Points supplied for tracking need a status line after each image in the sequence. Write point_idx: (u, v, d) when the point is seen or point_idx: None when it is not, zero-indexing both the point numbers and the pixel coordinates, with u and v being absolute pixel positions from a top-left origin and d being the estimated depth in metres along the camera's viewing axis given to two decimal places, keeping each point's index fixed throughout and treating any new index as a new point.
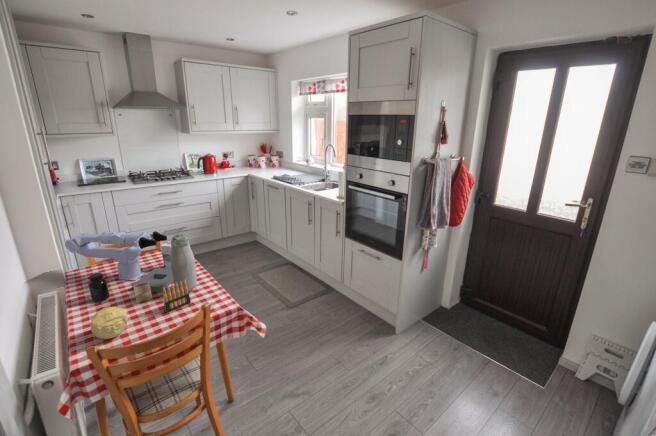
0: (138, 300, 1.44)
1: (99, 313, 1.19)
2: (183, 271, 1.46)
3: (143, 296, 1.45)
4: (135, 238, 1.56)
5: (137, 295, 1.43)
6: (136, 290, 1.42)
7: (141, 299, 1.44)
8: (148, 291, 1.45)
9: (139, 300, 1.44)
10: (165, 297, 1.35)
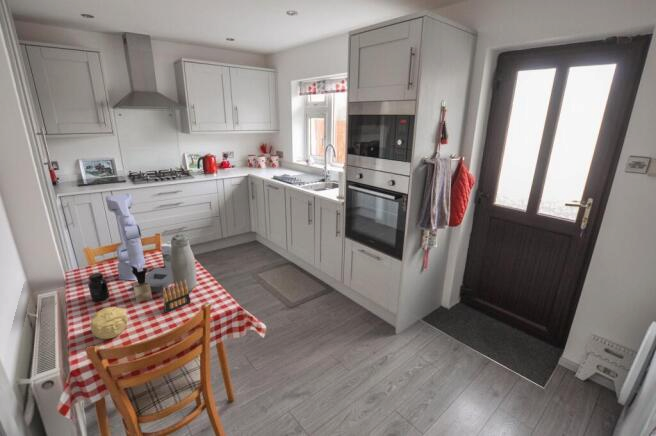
0: (138, 300, 1.44)
1: (99, 313, 1.19)
2: (183, 271, 1.46)
3: (143, 296, 1.45)
4: (140, 256, 1.39)
5: (137, 295, 1.43)
6: (136, 290, 1.42)
7: (141, 299, 1.44)
8: (148, 291, 1.45)
9: (139, 300, 1.44)
10: (165, 297, 1.35)
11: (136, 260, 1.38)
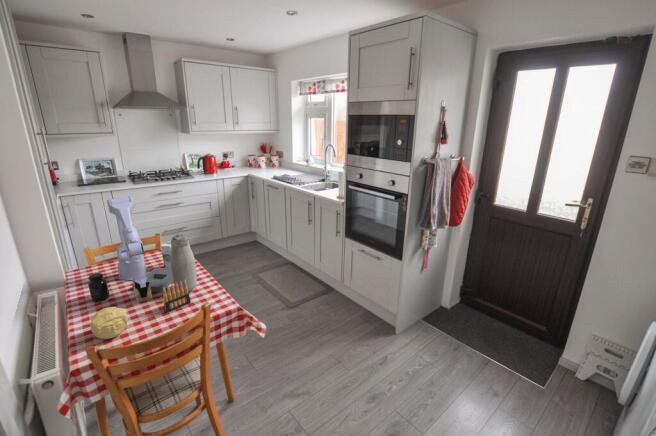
0: (138, 300, 1.44)
1: (99, 313, 1.19)
2: (183, 271, 1.46)
3: None
4: (143, 272, 1.41)
5: (137, 295, 1.43)
6: (136, 290, 1.42)
7: (141, 299, 1.44)
8: (148, 291, 1.45)
9: (139, 300, 1.44)
10: (165, 297, 1.35)
11: (139, 276, 1.41)
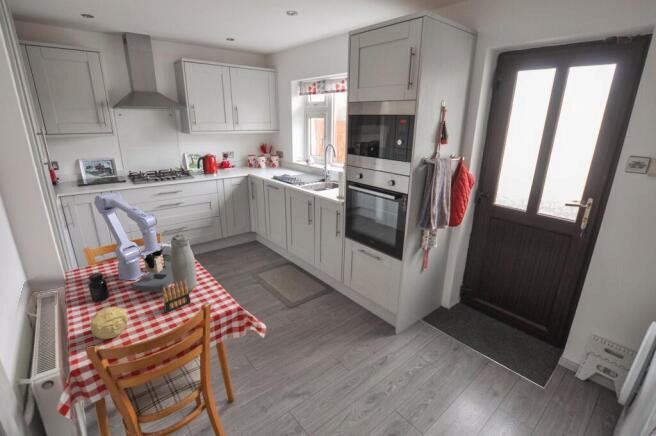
0: (147, 270, 1.56)
1: (99, 313, 1.19)
2: (183, 271, 1.46)
3: (150, 268, 1.56)
4: (150, 245, 1.51)
5: (146, 265, 1.56)
6: None
7: (149, 270, 1.56)
8: (155, 265, 1.55)
9: (148, 270, 1.56)
10: (165, 297, 1.35)
11: (146, 248, 1.52)
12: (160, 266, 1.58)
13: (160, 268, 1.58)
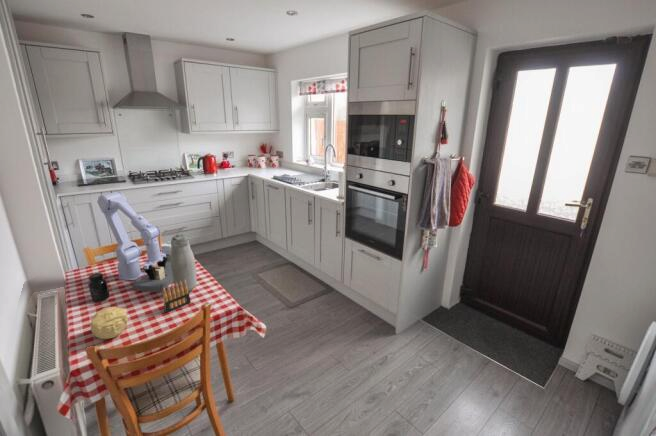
0: None
1: (99, 313, 1.19)
2: (183, 271, 1.46)
3: None
4: (152, 256, 1.54)
5: None
6: None
7: None
8: (157, 275, 1.58)
9: None
10: (165, 297, 1.35)
11: (149, 258, 1.54)
12: (163, 276, 1.61)
13: None
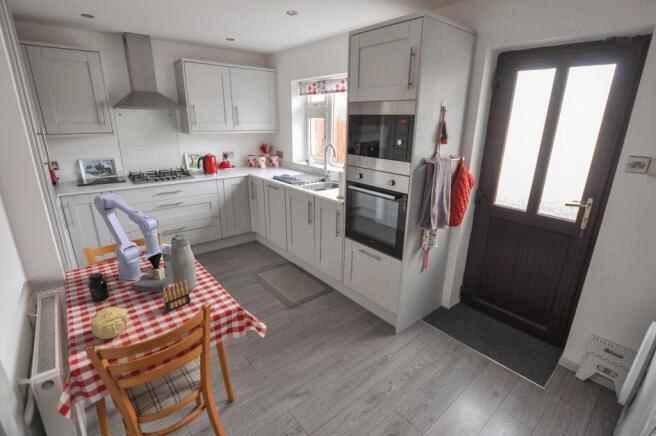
0: None
1: (99, 313, 1.19)
2: (183, 271, 1.46)
3: (153, 278, 1.59)
4: (151, 248, 1.53)
5: (149, 275, 1.59)
6: (148, 271, 1.58)
7: None
8: (157, 275, 1.58)
9: None
10: (165, 297, 1.35)
11: (148, 250, 1.53)
12: (163, 276, 1.61)
13: None
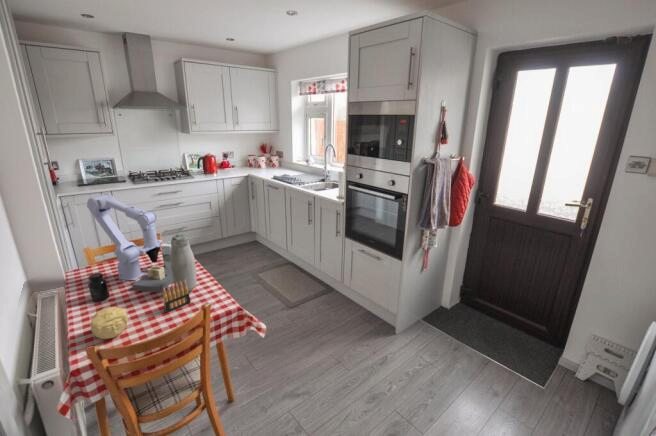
0: None
1: (99, 313, 1.19)
2: (183, 271, 1.46)
3: (153, 278, 1.59)
4: (149, 241, 1.54)
5: (149, 275, 1.59)
6: (148, 271, 1.58)
7: None
8: (157, 275, 1.58)
9: None
10: (165, 297, 1.35)
11: (146, 244, 1.54)
12: (163, 276, 1.61)
13: None
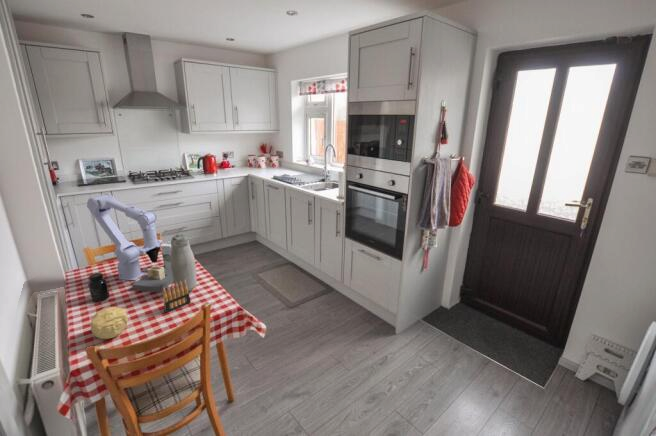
0: None
1: (99, 313, 1.19)
2: (183, 271, 1.46)
3: (153, 278, 1.59)
4: (149, 241, 1.54)
5: (149, 275, 1.59)
6: (148, 271, 1.58)
7: None
8: (157, 275, 1.58)
9: None
10: (165, 297, 1.35)
11: (146, 244, 1.54)
12: (163, 276, 1.61)
13: None
